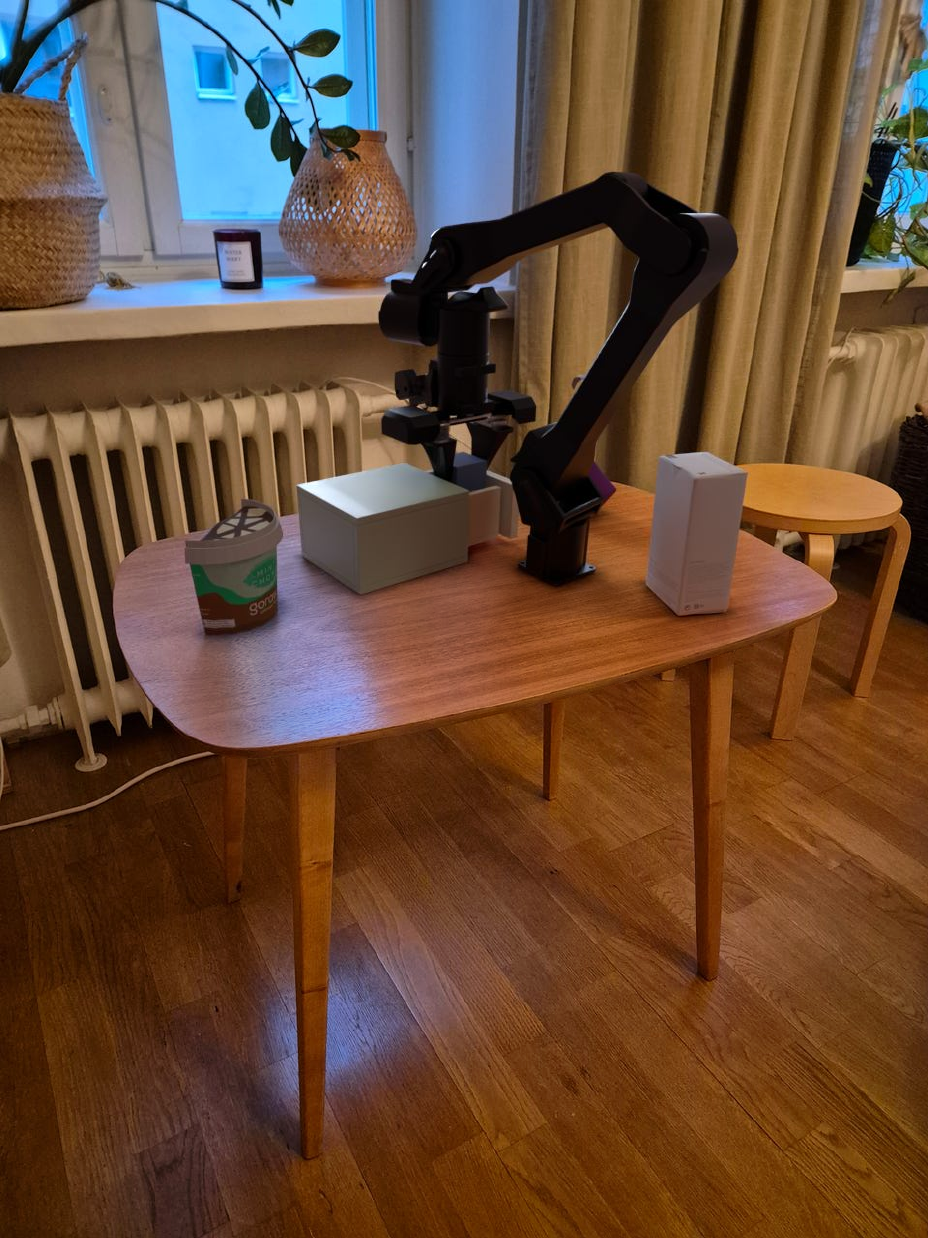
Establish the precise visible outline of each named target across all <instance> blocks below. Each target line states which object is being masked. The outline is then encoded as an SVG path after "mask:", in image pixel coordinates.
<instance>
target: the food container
mask: <svg viewBox="0 0 928 1238" xmlns="http://www.w3.org/2000/svg"><path fill="white" fill-rule="evenodd" d="M240 502H241V503H240V505H241V508H240V509H238V511H237V512H236V513H234V514H232V515H231V516H230V517H227V518H224V519H222V520H220V521H218V522H217V523H216V524H215V525H214V526H213V527H212V528H211V529H210V530H209V531H208V533H206V534H205V536H204V537H203V538H201V539H200V540H191V539H185V540H184V543H185V547H184V564H187V565H189V567H190V572H191V577H192V582H193V585H194V586H193V587H194V590H195V595H196V600H197V604H198V608H199V613H200V617H201V622H202V627H203V631H204V635H216V636H218V635H219V636H221V635H235V634H240V633H244V632H245V633H246V632H250V631H252V630H255V629H257V628H260V627H262V626H265V625H266V624H267V623H270V622H271V621H272V620H273V619H274V618H275V617H276V615H277V613H278V548H277V547H278V545H279V544H280V543H281V542H282V541H283V538H284V531H283V528H282V525H281V522H280V518H279V515H277V514H276V512H275V510H274V508H272V507H271V506H270V505H268V504H266V503H264V502H261V501H258V500H254V499H250V498H243V497H241V498H240Z"/></svg>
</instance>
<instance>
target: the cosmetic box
mask: <svg viewBox="0 0 928 1238" xmlns="http://www.w3.org/2000/svg"><path fill="white" fill-rule="evenodd" d="M748 476H749V472H748V471H746V470H744V469H742V468H740V467H738V466H736V465H734V464H731V463H730V462H729V461H726V460H724V459H722V458H720V457H718V456H716V455H714V454H712V453H710V452H709V451H700V452H689V453H677V454H676V453H675V454H666V455H665V454H664V455H660V456H658V462H657V471H656V479H655V480H656V481H655V490H654V498H653V499H654V500H653V508H652V509H653V511H652V519H651V529H650V530H651V531H650V539H649V550H648V558H647V569H646V577H645V586H646V587H647V588H648V589H650V591H651V592H653V593H654V595H656V596H657V597H658V598H659V599H660V600H661V601H662V602H663V603H664V604H665V605H666V606H667V607H668V608H670V610H672V611H673V612H674V613H675V614H676V615H677V616H688V615H699V614H701V615H702V614H717V613H726V612H727V610H728V607H729V602H730V594H731V587H732V581H733V575H734V568H735V561H736V555H737V549H738V548H737V547H738V542H739V536H740V535H739V534H740V528H741V523H742V521H741V520H742V515H743V507H744V500H745V495H746V494H745V493H746V488H747V480H748Z"/></svg>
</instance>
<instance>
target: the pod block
mask: <svg viewBox="0 0 928 1238" xmlns="http://www.w3.org/2000/svg"><path fill="white" fill-rule="evenodd" d="M486 475H487V461H486V460H484V459H481V458H478V457H476V456H473V455H471V453H468V452H465V451H461V452H455V458H454V465H453V472H452V478H451V483H452V484H455V485H457V486H459V487H462V488H464V489H466V490H469V492H473V491H477V490H481V489H485V488H486ZM434 476H435V474H434Z"/></svg>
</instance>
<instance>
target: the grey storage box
mask: <svg viewBox="0 0 928 1238" xmlns="http://www.w3.org/2000/svg"><path fill="white" fill-rule="evenodd" d="M425 471H426V470H422V469H420V468H418V467H416V466H412V465H411V464H408V463H406V462H401V463H395V464H391V465H387V466H386V465H385V466H382V467H377V468H372V469H366V470H363V471H358V472H357V471H356V472H353V473H348V474H343V475H342V474H341V475H338V476H334V477H329V478H324V479H319V480H315V481H309V482H303V483H299V484H296V496H297V497H296V498H297V511H298V520H299V522H298V523H299V534H300V535H299V537H300V549H301V557H303V558H304V559H306V560H307V561H309V562H310V563H312V564H313V565H315V566H316V567H318V568H319V569H321V570H323V571H324V572H325V573H326V574H329V575H330V576H331V577H333V578H334V579H335V580H337V581H339V582H340V583H341V584H343V585H344V586H346V587H347V588H349V589H350V590H352V591H353V592H355V593H357V594H358V595H359V596H361V595H364V594H368V593H371V592H374V591H377V590H382V589H384V588H387V587H390V586H393V585H397V584H400V583H403V582H406V581H409V580H413V579H416V578H420V577H423V576H426V575H429V574H433V573H437V572H439V571H441V570H445V569H448V568H453V567H455V566H458V565H461V564H464V563H468V559H469V552H468V551H469V546H468V526H469V490H466V489H464V488H462V487H459V486H457V485H455V484H452V483H450V482H448V481H445V480H443V479H441V478H439V477H436V476H434V475H432V474H429V473H427V472H425Z"/></svg>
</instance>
